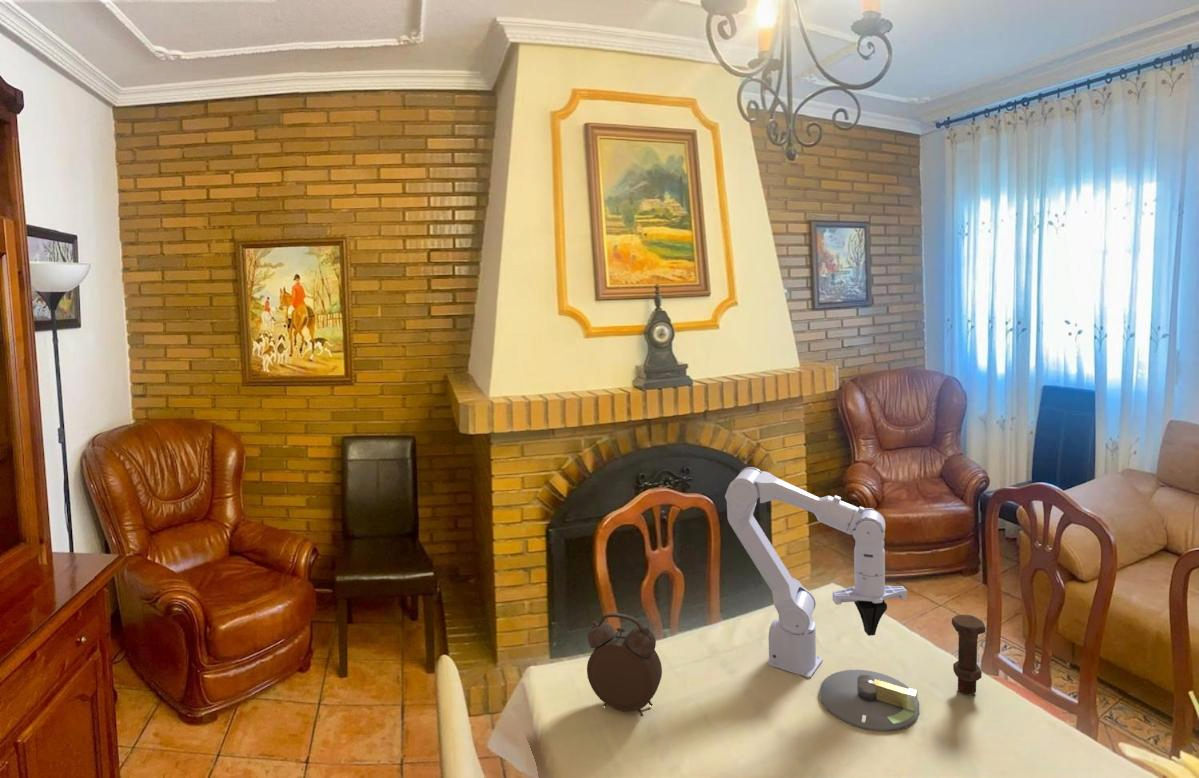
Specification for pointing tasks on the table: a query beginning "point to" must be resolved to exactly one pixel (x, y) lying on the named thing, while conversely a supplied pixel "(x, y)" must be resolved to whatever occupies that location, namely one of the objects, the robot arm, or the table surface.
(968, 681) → the bolt
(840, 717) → the dial plate
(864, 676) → the peg lever
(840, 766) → the table surface
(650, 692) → the alarm clock
